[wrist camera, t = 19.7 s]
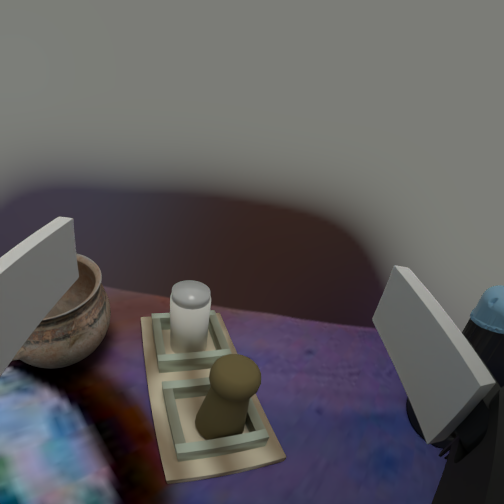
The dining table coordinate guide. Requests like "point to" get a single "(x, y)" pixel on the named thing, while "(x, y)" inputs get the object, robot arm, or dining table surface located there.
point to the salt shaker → (189, 317)
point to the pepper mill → (228, 396)
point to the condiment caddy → (188, 404)
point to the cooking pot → (71, 323)
